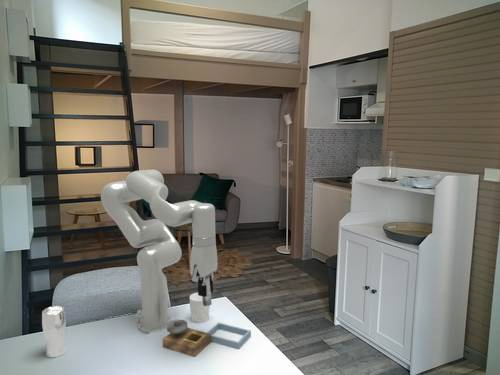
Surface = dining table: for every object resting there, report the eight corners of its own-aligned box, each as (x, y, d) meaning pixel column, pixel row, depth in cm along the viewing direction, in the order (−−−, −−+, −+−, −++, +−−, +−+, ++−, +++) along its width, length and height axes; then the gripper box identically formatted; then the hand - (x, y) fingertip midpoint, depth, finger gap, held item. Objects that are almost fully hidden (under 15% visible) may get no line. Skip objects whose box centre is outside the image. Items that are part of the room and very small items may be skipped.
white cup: (206, 326, 148) (206, 301, 146) (187, 324, 149) (186, 299, 148) (212, 316, 156) (212, 293, 154) (193, 314, 157) (193, 291, 156)
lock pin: (198, 305, 131) (196, 273, 129) (205, 301, 134) (203, 269, 133) (208, 307, 129) (205, 274, 127) (215, 302, 132) (212, 270, 131)
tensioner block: (160, 349, 132) (159, 327, 131) (178, 335, 141) (177, 314, 140) (194, 359, 126) (194, 337, 125) (211, 344, 135) (210, 323, 134)
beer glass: (72, 348, 132) (69, 307, 130) (56, 360, 126) (53, 316, 124) (56, 345, 135) (53, 304, 132) (39, 356, 128) (36, 313, 126)
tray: (204, 342, 137) (204, 334, 136) (218, 330, 145) (218, 322, 145) (238, 351, 131) (238, 343, 131) (250, 338, 139) (250, 330, 139)
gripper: (208, 234, 138) (210, 283, 140) (179, 245, 123) (181, 300, 126) (226, 236, 134) (227, 287, 136) (198, 248, 120) (200, 305, 122)
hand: (205, 293), depth 131 cm, fingers closed on lock pin, 3 cm apart
